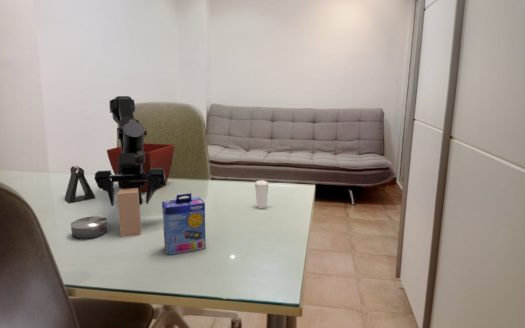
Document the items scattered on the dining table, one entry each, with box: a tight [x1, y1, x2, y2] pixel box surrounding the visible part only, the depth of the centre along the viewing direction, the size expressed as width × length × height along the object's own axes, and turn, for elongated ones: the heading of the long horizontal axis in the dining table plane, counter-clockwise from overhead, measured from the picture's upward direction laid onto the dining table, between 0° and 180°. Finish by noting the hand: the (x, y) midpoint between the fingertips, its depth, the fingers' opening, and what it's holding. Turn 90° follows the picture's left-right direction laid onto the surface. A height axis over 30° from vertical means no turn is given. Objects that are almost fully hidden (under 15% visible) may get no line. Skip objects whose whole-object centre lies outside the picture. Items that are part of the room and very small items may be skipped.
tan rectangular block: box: [116, 188, 142, 237], centre depth 104 cm, size 5×5×12 cm
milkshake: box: [254, 179, 271, 209], centre depth 126 cm, size 4×5×10 cm
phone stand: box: [64, 165, 96, 204], centre depth 137 cm, size 9×6×12 cm, turn 131°
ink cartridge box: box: [161, 192, 207, 256], centre depth 93 cm, size 10×6×14 cm, turn 114°
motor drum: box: [70, 215, 109, 241], centre depth 104 cm, size 9×9×4 cm
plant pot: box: [106, 142, 175, 193], centre depth 152 cm, size 19×19×17 cm
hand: (129, 204), depth 104 cm, fingers open, 9 cm apart
